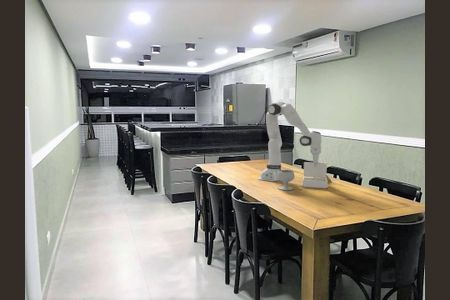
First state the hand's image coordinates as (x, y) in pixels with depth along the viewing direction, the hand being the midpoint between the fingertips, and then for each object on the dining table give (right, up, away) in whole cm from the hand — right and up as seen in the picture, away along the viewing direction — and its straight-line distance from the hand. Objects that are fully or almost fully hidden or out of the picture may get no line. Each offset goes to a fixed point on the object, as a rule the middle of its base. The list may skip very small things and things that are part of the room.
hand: (315, 166), depth 280 cm
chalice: (-27, -18, -10) cm, 34 cm away
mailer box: (0, -17, +1) cm, 17 cm away
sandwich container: (+14, -15, +24) cm, 31 cm away
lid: (+1, -3, +4) cm, 5 cm away
